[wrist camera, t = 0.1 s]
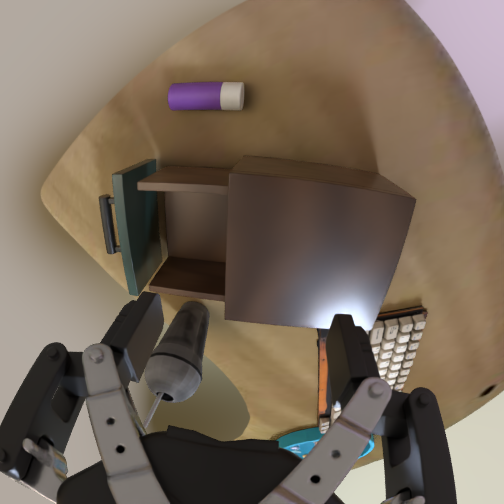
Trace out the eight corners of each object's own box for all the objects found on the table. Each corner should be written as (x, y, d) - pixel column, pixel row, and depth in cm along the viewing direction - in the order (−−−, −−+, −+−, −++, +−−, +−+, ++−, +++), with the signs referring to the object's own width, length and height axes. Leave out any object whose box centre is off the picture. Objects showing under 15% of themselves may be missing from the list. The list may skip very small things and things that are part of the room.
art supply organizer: (382, 416, 54) (386, 435, 48) (363, 452, 67) (365, 466, 62) (266, 429, 58) (264, 449, 53) (276, 461, 72) (275, 475, 67)
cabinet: (236, 269, 36) (224, 319, 27) (243, 155, 29) (228, 172, 20) (353, 280, 35) (371, 330, 27) (379, 173, 28) (416, 199, 20)
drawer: (127, 256, 36) (99, 289, 29) (117, 159, 29) (78, 175, 22) (262, 272, 35) (258, 313, 28) (273, 164, 28) (272, 181, 21)
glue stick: (177, 110, 27) (167, 110, 24) (178, 85, 25) (168, 82, 23) (243, 111, 27) (239, 110, 24) (245, 84, 25) (241, 80, 22)
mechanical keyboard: (316, 321, 39) (318, 337, 36) (428, 302, 36) (436, 315, 33) (317, 425, 56) (318, 437, 53) (389, 413, 53) (392, 423, 50)
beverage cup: (222, 330, 42) (194, 447, 24) (179, 329, 42) (138, 435, 25) (214, 293, 38) (174, 419, 21) (167, 293, 39) (111, 406, 21)
